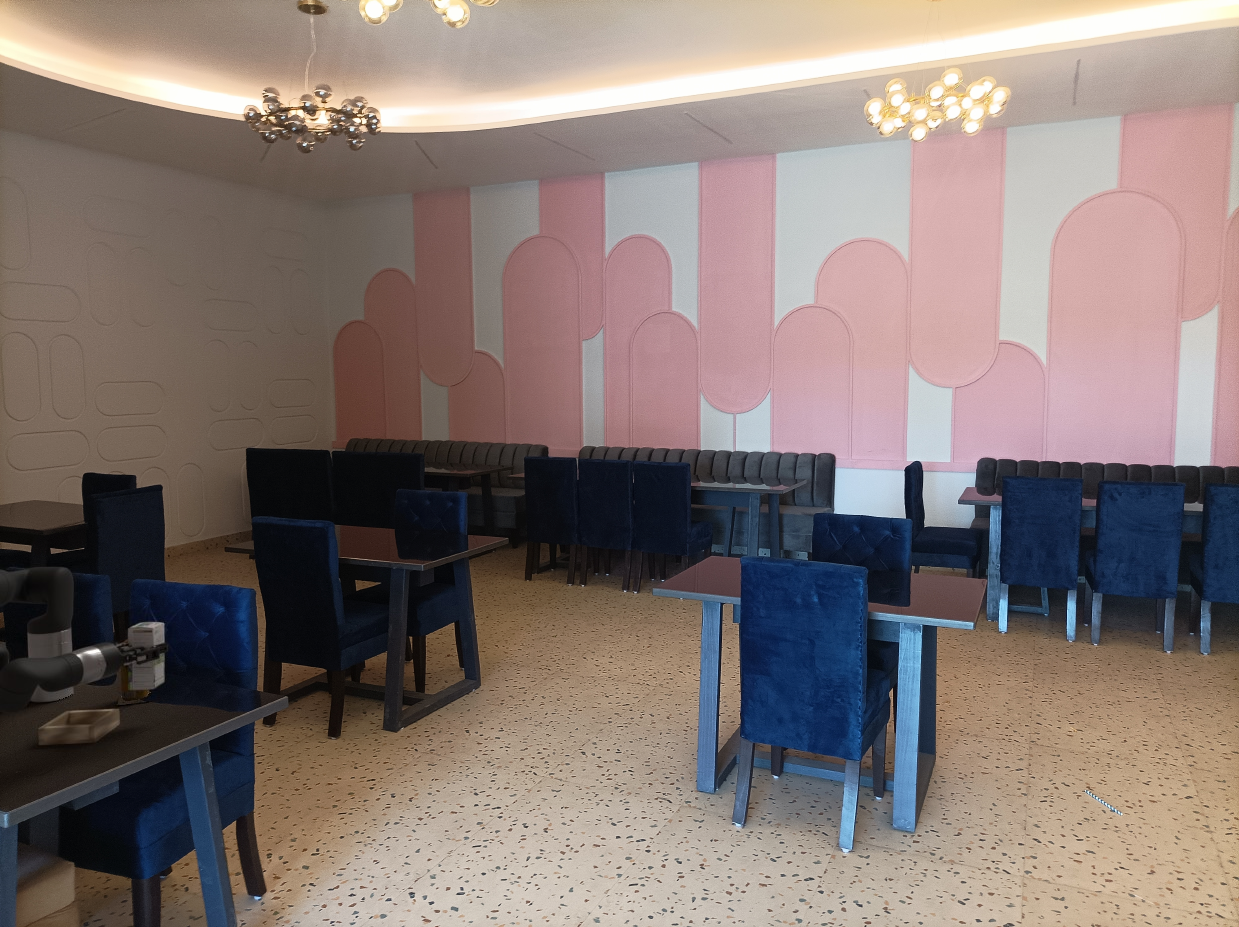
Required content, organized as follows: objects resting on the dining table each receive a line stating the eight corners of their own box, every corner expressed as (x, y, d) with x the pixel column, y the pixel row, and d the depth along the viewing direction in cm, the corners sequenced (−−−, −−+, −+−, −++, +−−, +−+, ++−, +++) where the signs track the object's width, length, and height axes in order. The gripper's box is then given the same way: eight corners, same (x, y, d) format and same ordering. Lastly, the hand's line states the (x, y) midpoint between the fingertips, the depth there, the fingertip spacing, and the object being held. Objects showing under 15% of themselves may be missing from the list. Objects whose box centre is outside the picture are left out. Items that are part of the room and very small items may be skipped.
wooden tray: (38, 745, 183) (38, 728, 182) (67, 726, 194) (66, 711, 194) (94, 742, 184) (94, 726, 184) (119, 724, 195) (119, 708, 195)
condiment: (151, 693, 218) (150, 647, 218) (149, 702, 211) (148, 655, 210) (119, 697, 215) (117, 650, 214) (115, 707, 207) (114, 658, 207)
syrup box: (139, 683, 198) (138, 622, 198) (166, 682, 199) (164, 621, 199) (128, 690, 193) (126, 627, 192) (155, 689, 193) (153, 626, 193)
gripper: (66, 678, 184) (130, 659, 200) (116, 684, 180) (178, 663, 196) (65, 644, 184) (129, 627, 200) (115, 649, 180) (178, 631, 195)
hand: (153, 645), depth 198 cm, fingers closed on syrup box, 7 cm apart
